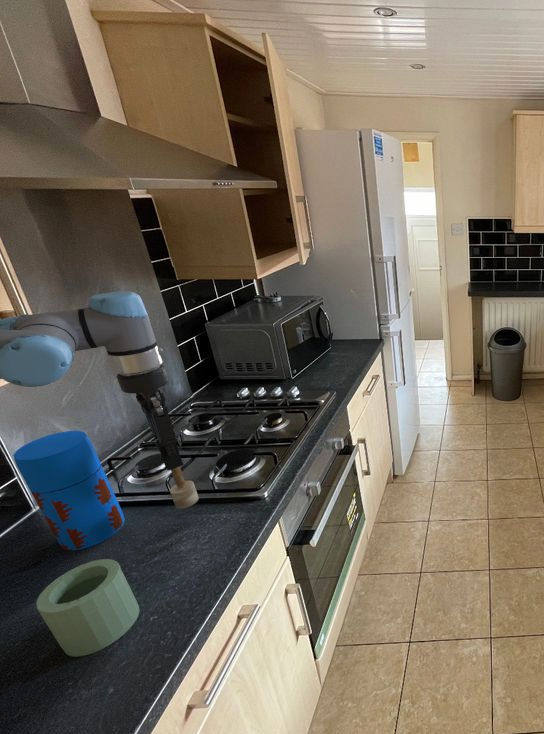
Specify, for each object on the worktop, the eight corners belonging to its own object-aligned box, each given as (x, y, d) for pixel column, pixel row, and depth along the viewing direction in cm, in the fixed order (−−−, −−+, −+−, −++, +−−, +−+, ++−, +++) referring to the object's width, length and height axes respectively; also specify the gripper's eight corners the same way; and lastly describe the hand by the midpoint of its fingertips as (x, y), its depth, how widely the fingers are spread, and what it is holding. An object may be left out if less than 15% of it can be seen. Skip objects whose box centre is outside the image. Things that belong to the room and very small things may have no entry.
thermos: (114, 513, 101) (73, 425, 92) (137, 528, 97) (97, 437, 87) (53, 545, 92) (2, 451, 83) (76, 563, 88) (24, 466, 78)
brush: (178, 511, 94) (152, 440, 87) (172, 502, 96) (147, 432, 89) (201, 501, 97) (178, 431, 90) (195, 492, 99) (172, 424, 92)
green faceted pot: (67, 670, 69) (39, 625, 65) (59, 630, 75) (33, 587, 71) (145, 623, 76) (124, 580, 72) (132, 591, 82) (112, 549, 78)
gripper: (173, 372, 82) (204, 470, 91) (154, 354, 91) (184, 445, 100) (124, 385, 77) (162, 487, 86) (108, 364, 85) (144, 459, 94)
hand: (174, 464), depth 93 cm, fingers closed on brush, 2 cm apart
